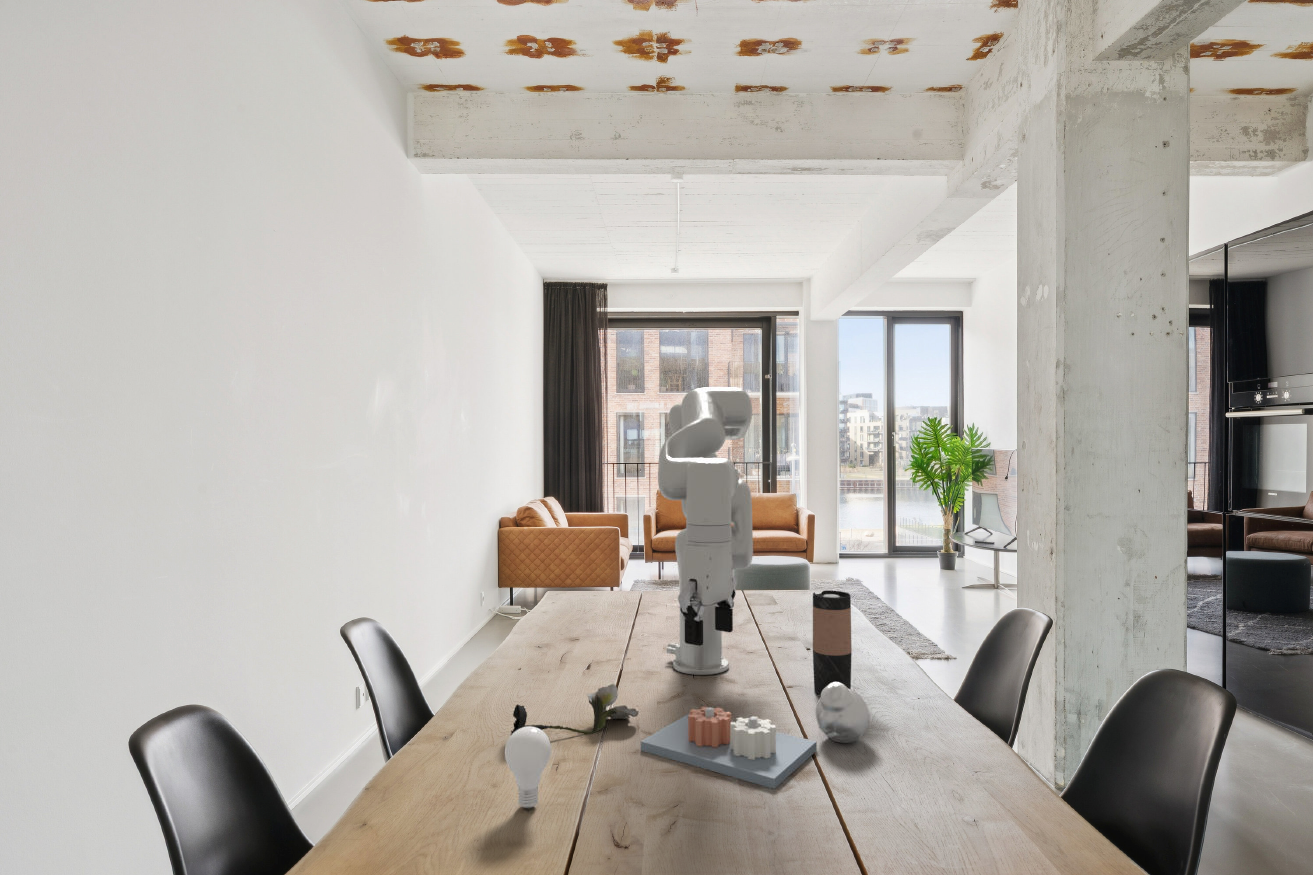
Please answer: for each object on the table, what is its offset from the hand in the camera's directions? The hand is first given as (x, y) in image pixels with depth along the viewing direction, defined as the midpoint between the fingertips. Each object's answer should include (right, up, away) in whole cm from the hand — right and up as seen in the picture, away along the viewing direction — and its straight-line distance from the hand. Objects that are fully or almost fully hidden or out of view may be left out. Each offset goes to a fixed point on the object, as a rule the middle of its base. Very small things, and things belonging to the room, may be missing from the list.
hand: (709, 637), depth 120 cm
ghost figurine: (+22, -18, +2) cm, 29 cm away
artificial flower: (-23, -19, +7) cm, 31 cm away
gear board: (+3, -18, -1) cm, 18 cm away
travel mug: (+27, -19, +26) cm, 42 cm away
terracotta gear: (0, -17, 0) cm, 17 cm away
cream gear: (+7, -17, -5) cm, 19 cm away
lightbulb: (-27, -18, -20) cm, 38 cm away
